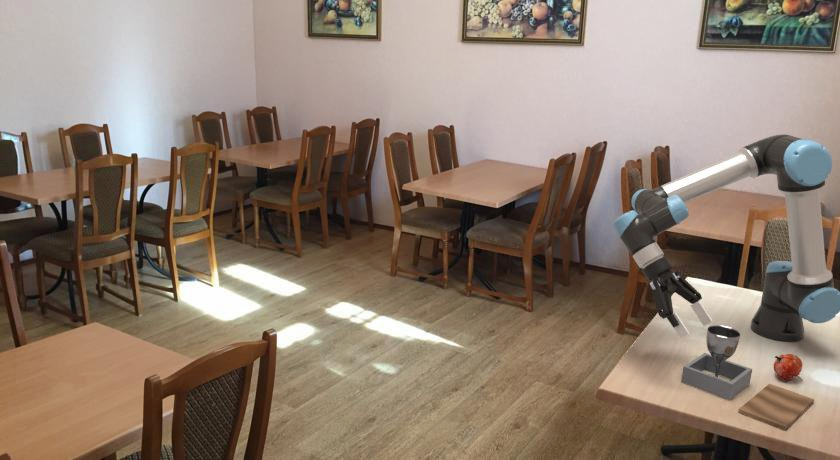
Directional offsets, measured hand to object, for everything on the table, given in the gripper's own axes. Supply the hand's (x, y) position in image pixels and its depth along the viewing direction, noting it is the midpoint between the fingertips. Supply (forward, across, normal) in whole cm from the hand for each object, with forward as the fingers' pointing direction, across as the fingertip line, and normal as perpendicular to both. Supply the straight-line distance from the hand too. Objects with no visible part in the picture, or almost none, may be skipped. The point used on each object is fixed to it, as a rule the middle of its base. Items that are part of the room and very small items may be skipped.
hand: (697, 330), depth 188 cm
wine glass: (+14, -1, -5) cm, 15 cm away
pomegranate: (+23, -19, +4) cm, 30 cm away
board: (+25, 0, +7) cm, 26 cm away
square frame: (+14, -1, -5) cm, 15 cm away
